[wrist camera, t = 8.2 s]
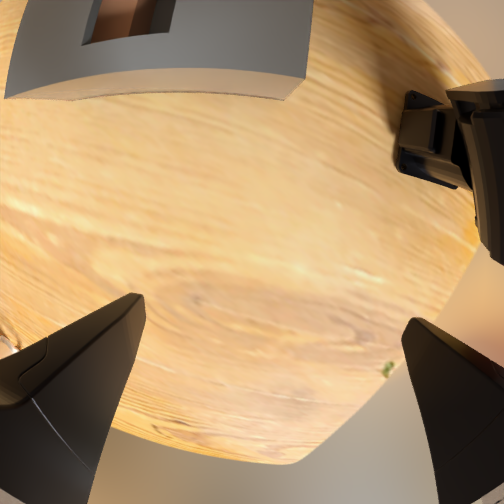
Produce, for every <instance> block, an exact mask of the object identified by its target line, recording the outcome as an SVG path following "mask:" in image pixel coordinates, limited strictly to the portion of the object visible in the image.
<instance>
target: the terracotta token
mask: <svg viewBox="0 0 504 504" xmlns="http://www.w3.org/2000/svg"><path fill="white" fill-rule="evenodd" d="M156 2H157V0H102V2H101V6H100V9H99V12H98V16H97V19H96V23H95V27H94V31H93V35H92V39H91V44H92V43H97V42H102V41H107V40H112V39H118V38H124V37H131V36H138V35H147V34H149V30H150V26H151V22H152V18H153V14H154V10H155V6H156Z"/></svg>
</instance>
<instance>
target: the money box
mask: <svg viewBox="0 0 504 504" xmlns="http://www.w3.org/2000/svg"><path fill="white" fill-rule="evenodd" d="M313 1H314V0H157V2H156V6H155V10H154V14H153V18H152V22H151V26H150V30H149V34H147V35H138V36H131V37H124V38H118V39H112V40H107V41H102V42H97V43H92V44H91V39H92V35H93V31H94V27H95V23H96V19H97V16H98V12H99V9H100V6H101V2H102V0H28V3H27V6H26V8H25V11H24V14H23V17H22V20H21V23H20V26H19V29H18V33H17V36H16V40H15V44H14V48H13V52H12V56H11V61H10V66H9V71H8V76H7V82H6V89H5V96H4V99H48V100H65V101H74V100H80V99H87V98H94V97H103V96H112V95H123V94H138V93H166V92H187V93H215V94H230V95H242V96H251V97H260V98H268V99H275V100H282V101H284V100H285V99H286V98H287V97H288V96H289V95H290V94H291V93H292V92H293V91H294V90H295V89H296V88H297V87H298V86H299V85H300V84H301V83H302V82H303V81H304V80H305V77H306V68H307V60H308V51H309V42H310V32H311V22H312V12H313Z"/></svg>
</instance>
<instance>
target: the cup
mask: <svg viewBox="0 0 504 504" xmlns="http://www.w3.org/2000/svg"><path fill="white" fill-rule="evenodd" d="M18 351H19V349H18V348H16V347H15V346H14V345H13V344H12V342H11V341H10V340H9V339H7V338H6V337H4V336H3V335H2V336H0V359H2V358H5V357H7V356H9V355H11V354H14V353H16V352H18Z"/></svg>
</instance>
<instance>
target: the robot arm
mask: <svg viewBox="0 0 504 504" xmlns="http://www.w3.org/2000/svg"><path fill="white" fill-rule="evenodd" d="M445 91H446V94H447V97H448V99H450V101H451V104H452V105H444V104H442V103H440V102H438V101H436V100H434V99H432V98H430V97H427V96H425V95H423V94H421V93H418V92H416V91H413V90H411V91H407V93H406V96H405V106H404V111H403V112H402V119H401V127H400V134H399V141H398V143H399V151H398V157H397V162H396V169H397V170H398V172H400V173H403V174H407V175H410V176H414V177H417V178H420V179H424V180H427V181H430V182H433V183H436V184H439V185H442V186H445V187H448V188H451V189H457V188H458V186H459V187H461V188H464V189H466V190H469V191H471V192H473V196H474V204H475V212H476V216H475V225H476V226H477V228H478V232H479V236H480V240H481V242H482V243H483V244H484V246H485V247H486V248H487V249H488V250H489V251H490V257H491V258H492V259H493V260H495V261H497V262H498V263H500V264H501V265H503V266H504V79H495V80H486V81H481V82H477V83H472V84H468V85H464V86H460V87H456V88H452V89H448V90H445ZM411 94H412V95H413V96H414V99H412V98H411ZM402 164H404V169H402V168H401V166H402ZM145 322H146V312H145V302H144V297H143V295H142V294H137V293H129V294H127V295H125V296H123V297H121V298H119V299H117V300H115V301H113V302H111V303H109V304H108V305H106V306H104V307H102V308H100V309H98V310H96V311H94V312H92V313H90V314H88V315H87V316H85V317H83V318H81V319H79V320H77V321H75V322H73V323H71V324H70V325H68V326H66V327H64V328H62V329H60V330H58V331H56V332H55V333H53V334H51V335H49V336H48V338H47V337H45V338H43V339H42V340H40V341H38V342H36V343H34V344H32V345H30V346H28V347H26V348H24V349H22V350H20V351H18V352H16V353H14V354H11V355H9V356H7V357H5V358H2V359H0V504H87V502H88V498H89V495H90V491H91V487H92V484H93V480H94V477H95V476H94V475H95V473H96V469H97V466H98V463H99V460H100V456H101V453H102V450H103V447H104V444H105V441H106V438H107V435H108V432H109V429H110V426H111V423H112V420H113V417H114V415H115V412H116V409H117V406H118V404H119V401H120V398H121V395H122V393H123V390H124V388H125V385H126V382H127V380H128V377H129V375H130V372H131V370H132V367H133V364H134V361H135V358H136V354H137V351H138V347H139V343H140V340H141V336H142V332H143V329H144V326H145ZM401 342H402V346H403V350H404V354H405V358H406V362H407V366H408V371H409V375H410V379H411V382H412V385H413V388H414V392H415V395H416V398H417V402H418V405H419V409H420V412H421V416H422V420H423V424H424V427H425V432H426V435H427V440H428V443H429V448H430V453H431V458H432V463H433V468H434V473H435V480H436V486H437V492H438V500H439V504H471V503H473V502H475V501H476V500H478V499H480V498H481V499H482V502H483V504H504V368H503V367H502V366H500V365H498V364H497V363H495V362H493V361H491V360H490V359H489V358H487V357H485V356H484V355H482V354H481V353H479V352H478V351H476V350H474V349H473V348H471V347H469V346H468V345H466V344H465V343H463V342H461V341H459V340H458V339H456V338H455V337H453V336H451V335H450V334H448V333H446V332H445V331H443V330H441V329H440V328H438V327H436V326H435V325H433V324H431V323H430V322H428V321H426V320H425V319H423V318H420V317H413V318H411V319H410V320H409V322H408V324H407V326H406V328H405V330H404V332H403V334H402V338H401Z"/></svg>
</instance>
